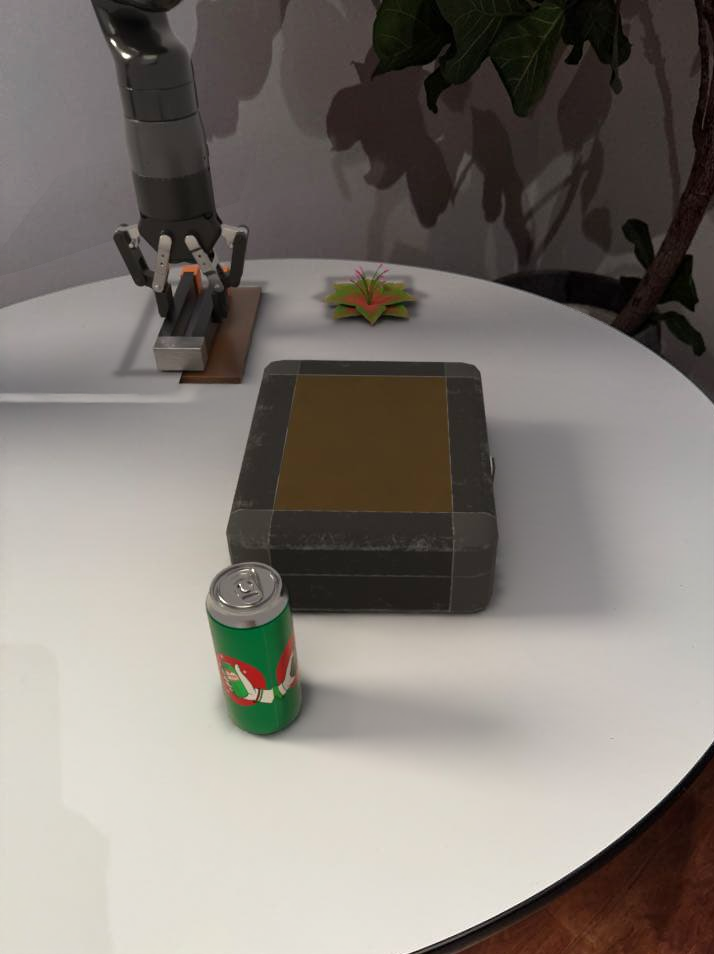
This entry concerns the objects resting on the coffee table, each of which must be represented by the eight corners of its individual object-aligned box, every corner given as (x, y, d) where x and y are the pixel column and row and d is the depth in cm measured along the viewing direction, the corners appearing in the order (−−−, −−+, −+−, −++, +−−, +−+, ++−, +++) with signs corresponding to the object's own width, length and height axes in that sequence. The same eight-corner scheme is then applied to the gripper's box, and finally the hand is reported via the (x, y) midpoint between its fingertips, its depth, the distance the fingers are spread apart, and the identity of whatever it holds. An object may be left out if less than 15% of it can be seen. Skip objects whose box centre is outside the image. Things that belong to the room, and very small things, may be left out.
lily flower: (319, 283, 107) (317, 247, 104) (416, 281, 107) (417, 245, 104) (318, 332, 98) (315, 294, 95) (424, 329, 99) (425, 292, 96)
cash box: (500, 618, 66) (510, 543, 61) (233, 614, 66) (220, 540, 61) (481, 427, 85) (487, 357, 80) (272, 424, 85) (265, 354, 79)
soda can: (285, 669, 62) (269, 547, 54) (314, 720, 59) (301, 599, 51) (218, 695, 61) (191, 573, 53) (243, 750, 57) (219, 629, 49)
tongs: (187, 286, 103) (183, 265, 101) (231, 286, 103) (228, 265, 101) (155, 370, 89) (150, 348, 87) (206, 370, 89) (202, 348, 87)
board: (124, 383, 90) (122, 376, 89) (162, 292, 105) (160, 286, 104) (240, 383, 90) (239, 376, 89) (262, 293, 105) (261, 286, 104)
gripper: (85, 173, 82) (123, 336, 93) (238, 175, 82) (257, 337, 93) (104, 146, 87) (138, 303, 99) (248, 147, 87) (265, 303, 99)
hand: (196, 318), depth 96 cm, fingers closed on tongs, 4 cm apart
